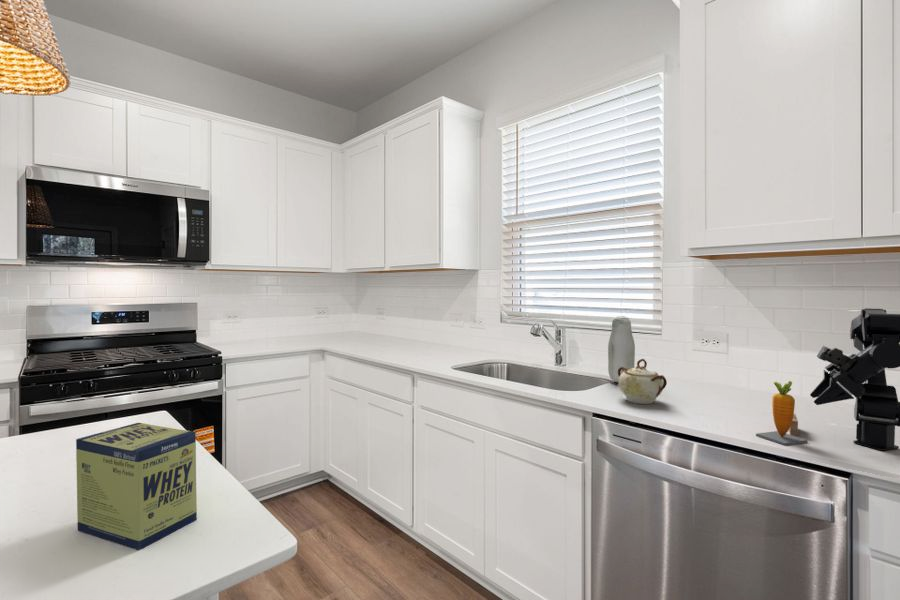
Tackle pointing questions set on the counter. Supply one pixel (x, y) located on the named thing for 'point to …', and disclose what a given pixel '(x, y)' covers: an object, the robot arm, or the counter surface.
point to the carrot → (783, 408)
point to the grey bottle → (620, 347)
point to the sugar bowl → (641, 384)
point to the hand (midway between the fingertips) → (813, 399)
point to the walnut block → (794, 426)
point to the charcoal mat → (781, 438)
